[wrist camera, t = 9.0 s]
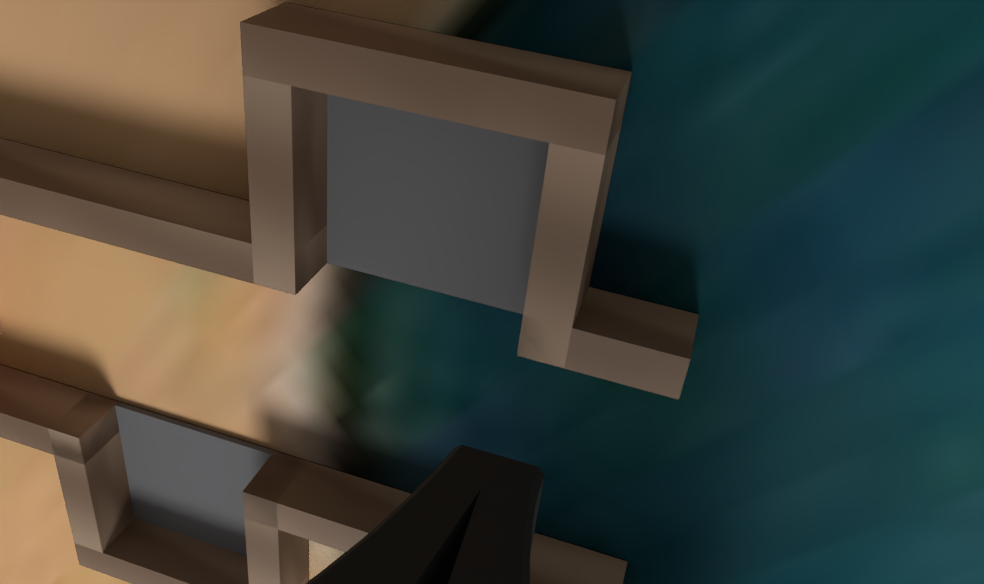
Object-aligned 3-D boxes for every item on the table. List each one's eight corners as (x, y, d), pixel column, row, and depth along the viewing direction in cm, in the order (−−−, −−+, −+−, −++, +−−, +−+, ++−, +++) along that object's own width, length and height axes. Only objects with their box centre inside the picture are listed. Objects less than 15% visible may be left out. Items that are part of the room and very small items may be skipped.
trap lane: (590, 691, 30) (573, 761, 28) (-121, 444, 36) (-180, 486, 34) (762, 97, 18) (756, 139, 16) (-336, -122, 24) (-446, -112, 22)
